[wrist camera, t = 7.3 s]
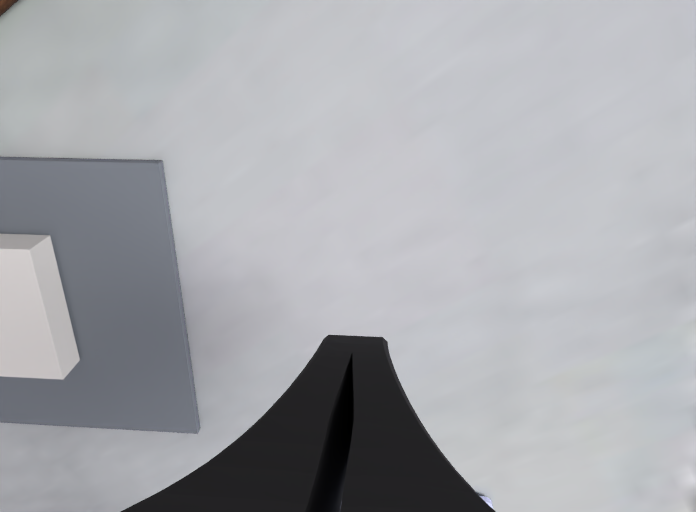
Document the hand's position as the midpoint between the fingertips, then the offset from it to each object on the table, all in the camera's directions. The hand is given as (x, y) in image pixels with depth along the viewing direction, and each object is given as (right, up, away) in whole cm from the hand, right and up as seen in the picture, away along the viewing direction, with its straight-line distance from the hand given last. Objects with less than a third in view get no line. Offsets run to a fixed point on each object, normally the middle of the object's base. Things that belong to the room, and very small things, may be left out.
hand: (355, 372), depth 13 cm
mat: (-13, +1, +12) cm, 18 cm away
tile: (-12, 0, +10) cm, 16 cm away
